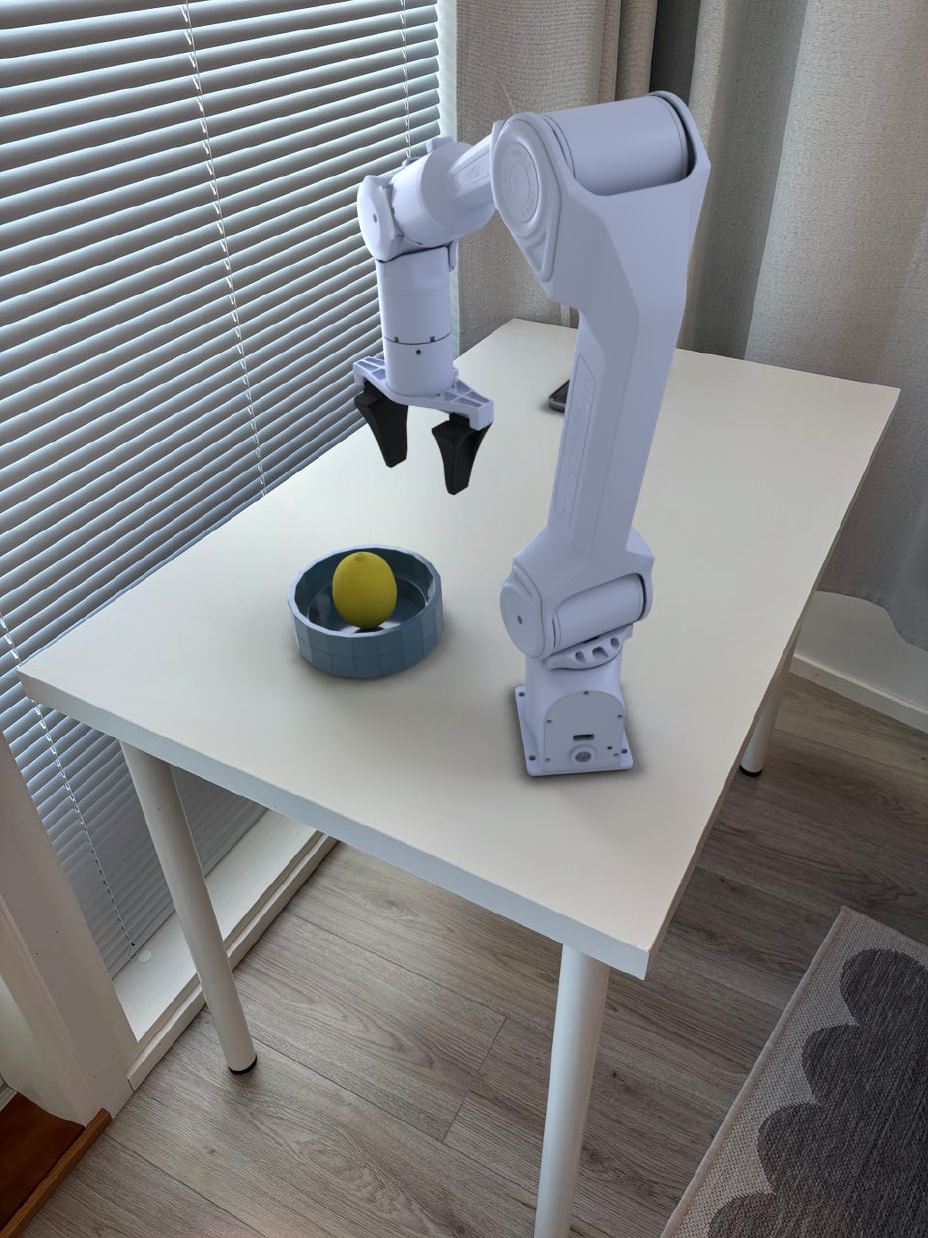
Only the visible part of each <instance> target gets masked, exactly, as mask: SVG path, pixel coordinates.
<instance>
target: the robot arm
mask: <svg viewBox="0 0 928 1238" xmlns="http://www.w3.org/2000/svg"><path fill="white" fill-rule="evenodd" d="M697 127H698V126H697V124H696V122H695V119H694V117H693V115H692V113H691V111H690V109H689V107H688V106H687V105H686V103H685V102H684V101H683V100H682V99H681V98H680V97H679V96H678V95H676V94H675V93H672V92H670V91H665V90H656V91H652V92H648V93H645V94H644V95H643V96H641V97H635V98H628V99H623V100H617V101H616V100H615V101H610V102H603V103H597V104H592V105H585V106H578V107H573V108H566V109H565V108H564V109H559V110H554V111H547V112H540V113H535V112H533V111H526V112H524V111H523V112H518V113H515V114H513V115H511V116H510V117H509V118H506V119H500V120H495V121H494V122H493V125H492V129H491V133H489V134H488V135H487V136H485V137H484V138H483V139H482V140H480V141H479V142H477V143H476V144H475V145H472V144H470V143H466V142H463V141H454V138H453V136H452V135H450V136H449V135H448V136H442V137H435V138H432V139H430V140H429V141H427V142H426V144H425V147H426V152H427V154H425V155H423V156H415V157H409V158H407V159H405V160H404V161H402V163H401V166H402V169H401V170H399V171H397V173H392V174H387V175H381V176H377V175H371V174H370V175H365V177H364V178H363V180H362V182H361V183H360V184H359V187H358V189H357V198H356V210H357V218H358V224H359V227H360V232H361V235H362V238H363V241H364V243H365V246H366V248H367V250H368V251H369V253H370V255H371V256H372V257H373V258H374V261H375V273H376V282H377V283H376V284H377V294H378V305H379V306H378V307H379V317H380V328H381V339H382V348H383V357H384V358H383V359H381V358H377V357H372V356H369V355H368V356H365V357H363V358H361V359H359V360H357V361H355V362H353V363H352V370H353V378H354V383H355V384H356V385H358V386H361V387H364V388H362V392H360V393H357V395H354V397H353V405H354V407H356V409H357V410H358V412H359V413H360V414H361V415H362V417H363V419H364V420H365V421H366V423H367V424H368V426H369V429H370V430H371V432H372V434H373V437H374V438H375V441H376V443H377V445H378V448H379V451H380V453H381V457H382V458H383V459H382V460H383V461H384V464H385V466H386V467H387V468H390V469H393V468H394V467H396V466H398V465H399V464H401V463H403V462H405V461H407V457H408V449H409V447H408V446H409V445H408V414H409V406H410V407H411V406H412V407H418V408H425V409H431V410H436V411H438V412H442V413H444V414H447V415H448V420H447V419H446V420H444V421H442V422H441V423H439V424H437V425H435V426H433V427H432V428H431V429H430V430H431V434H432V436H433V438H434V440H435V442H436V444H437V447H438V450H439V453H440V456H441V460H442V466H443V476H444V485H445V488H446V492H447V494H449V495H452V496H456V495H457V494H459V493H460V492H462V491H464V490H466V489H467V488H469V484H470V479H471V475H472V471H473V467H474V464H475V460H476V458H477V454H478V451H479V449H480V447H481V444H482V442H483V440H484V438H485V437H486V435H487V433H488V431H489V429H490V428H491V427H492V425H493V423H494V422H495V411H494V410H495V407H494V400H493V399H490V398H488V397H486V396H483V395H482V394H480V393H479V392H477V391H476V390H475V389H474V388H472V387H471V386H469V384H467V383H466V382H464V381H463V379H461V378H459V376H460V375H459V368H458V367H457V366H455V365H454V349H453V326H452V323H453V322H452V300H451V280H450V279H451V277H450V276H451V275H450V273H452V272H453V271H455V269H456V268H455V267H456V266H457V246H458V243H459V241H460V238H462V237H465V236H468V235H469V234H472V233H475V232H477V231H479V230H480V229H482V228H484V226H486V225H487V224H488V223H489V221H490V220H491V219H492V217H493V216H494V214H495V211H496V210H497V211H498V212H499V215H500V217H501V220H502V221H503V223H504V224H505V226H506V228H507V229H508V231H509V232H510V234H511V236H512V238H513V239H514V241H515V242H516V244H517V246H518V248H519V249H520V251H521V253H522V254H523V256H524V258H525V260H526V261H527V263H528V265H529V266H530V268H531V270H532V272H533V273H534V275H535V277H536V278H537V280H538V282H539V284H540V285H541V287H542V289H543V290H544V292H545V295H546V296H547V297H548V299H549V300H550V301H553V302H556V303H558V304H560V305H563V306H566V307H568V308H571V309H573V310H576V311H577V313H578V318H579V319H578V326H577V334H576V340H575V346H574V352H573V359H572V365H571V371H570V378H569V379H570V383H569V389H568V396H567V402H566V408H565V412H564V416H563V421H562V427H561V434H560V441H559V447H558V453H557V459H556V465H555V466H556V467H555V473H554V478H553V484H552V491H551V498H550V503H549V511H548V517H547V522H546V525H545V526H544V527H543V528H542V529H541V530H540V531H539V532H538V533H537V534H536V535H535V536H534V537H533V538H531V539H530V540H529V541H528V542H527V543H526V544H525V545H524V546H523V547H522V548H521V549H519V551H517V553H516V554H515V555H514V556H513V558H512V559H513V560H512V566H511V571H510V573H509V575H508V576H507V577H506V578H505V579H504V581H503V583H502V585H501V590H500V593H499V608H500V615H501V618H502V622H503V625H504V627H505V630H506V632H507V634H508V636H509V638H510V640H511V641H512V643H513V644H514V646H515V647H516V648H517V649H518V650H519V651H520V652H521V653H522V654H524V656H525V659H524V667H525V668H524V685H521V686H517V687H515V689H514V696H515V702H516V710H517V714H518V715H517V716H518V722H519V727H520V728H519V729H520V734H521V741H522V746H523V752H524V759H525V765H526V772H527V773H528V775H529V776H531V777H537V776H538V777H539V776H540V777H541V776H551V775H553V776H554V775H565V774H566V775H567V774H579V773H592V772H606V771H618V770H619V771H620V770H629V769H631V768H632V767H633V766H634V759H633V756H632V751H631V749H630V748H631V747H630V744H629V741H628V738H627V737H628V736H627V733H626V730H625V723H626V722H625V721H626V706H625V705H626V704H625V702H624V699H623V695H622V691H621V686H620V682H621V671H622V670H621V669H622V660H623V652H624V651H623V649H624V644H625V642H627V640H629V639H630V638H633V632H634V624H635V623H637V622H641V621H643V620H645V619H646V618H647V617H648V616H649V614H650V613H651V610H652V606H653V601H654V583H653V580H652V574H653V573H652V571H653V567H654V562H655V559H656V558H655V555H654V553H653V552H652V551H653V550H651V548H650V546H649V544H648V542H647V541H646V540H645V538H644V537H643V536H642V535H641V534H640V533H639V532H638V530H637V529H636V528H634V526H632V525H633V522H634V521H633V520H634V517H635V513H636V510H637V509H636V508H637V504H638V501H639V497H640V492H641V488H642V484H643V481H644V477H645V472H646V469H647V464H648V460H649V456H650V452H651V449H652V443H653V441H654V436H655V432H656V429H657V423H658V420H659V416H660V412H661V408H662V403H663V401H664V400H663V399H664V396H665V391H666V388H667V383H668V380H669V376H670V372H671V368H672V363H673V360H674V355H675V351H676V347H677V342H678V340H679V335H680V331H681V327H682V323H683V318H684V314H685V308H686V304H687V303H686V301H687V288H688V287H687V285H688V281H687V280H688V264H689V261H690V257H691V252H692V249H693V245H694V240H695V235H696V231H697V227H698V224H699V220H700V214H701V212H702V211H701V210H702V207H703V202H704V199H705V195H706V191H707V185H708V183H709V177H710V175H711V174H710V173H711V170H712V164H711V161H710V159H709V156H708V154H707V151H706V148H705V146H704V145H705V144H704V143H703V140H702V137H701V135H700V132H699V130H698V128H697Z"/></svg>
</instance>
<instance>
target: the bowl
mask: <svg viewBox="0 0 928 1238" xmlns="http://www.w3.org/2000/svg"><path fill="white" fill-rule="evenodd" d="M357 552H369V553H372V554H375V555H377V556H379V557H380V558H382V559H383V560H384V561H385V562H386V563H387V564H388V566H389V567H390V569H391V571H392V573H393V576H394V579H395V583H396V587H397V598H396V605H395V608H394V610H393V612H392V614H391V616H390V617H389V618H388V619H387V620H386V621H385V622H384V623H382V624H381V625H379V626H377V627H374V628H367V629H363V628H358V627H355V626H352V625H351V624H349V623H347V622H346V621H345V620H344V619H343V618H342V617H341V616H340V614H339V612H338V610H337V608H336V606H335V603H334V599H333V578H334V574H335V571H336V569H337V567H338V565H339V564H340V563H341V562H342V561H343V560H344V559H345V558H346V557H348V556H349V555H351V554H354V553H357ZM442 589H443V588H442V578H441V575H440V573H439V571H438V570H437V568H436V567H435V566H434V564H433V563H432V562H431V561H429V560H428V559H426V557H424V556H423V555H421V554H420V553H417V552H415V551H412V550H410V549H407V548H403V547H400V546H395V545H388V544H387V545H386V544H377V543H376V544H375V543H374V544H360V545H352V546H348V547H344V548H340V549H336V550H333V551H329V552H328V553H325V554H323V555H322V556H320V557H317V558H315V559H314V560H312V561H310V562H309V563H308V564H307V565H305V566H304V567H303V568H301V570H299V571H298V572H297V573H296V574H295V576H294V578H293V580H292V581H291V583H290V585H289V586H288V593H287V606H288V610H289V616H290V621H291V627H292V631H293V637H294V641H295V644H296V647H297V649H298V651H299V653H300V655H301V656H303V657H304V658H305V659H306V660H307V661H308V662H309V663H310V664H311V665H312V666H314V667H316V668H318V669H320V670H322V671H324V672H327V673H329V674H332V675H335V676H336V675H337V676H343V677H351V678H368V677H381V676H385V675H389V674H392V673H396V672H399V671H403V670H405V669H407V668H410V667H411V666H413V665H414V664H417V663H418V662H420V661H422V660H424V659H425V658H426V657H427V656H428V655H429V654H430V653H431V652H432V651H433V650H434V649H435V648H436V647H437V646H438V644H439V643H440V639H441V637H442V634H443V632H444V630H445V625H444V607H443V590H442Z"/></svg>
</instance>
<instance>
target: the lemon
mask: <svg viewBox="0 0 928 1238" xmlns="http://www.w3.org/2000/svg"><path fill="white" fill-rule="evenodd" d="M396 598H397V587H396V583H395V579H394V576H393V573H392V571H391V569H390V567H389V566H388V564H387V563H386V562H385V561H384V560H383V559H382V558H380V557H379V556H377V555H375V554H372V553H369V552H357V553H354V554H351V555H349V556H348V557H346V558H345V559H344V560H343V561H342V562H341V563H340V564H339V565H338V567H337V569H336V571H335V574H334V578H333V599H334V603H335V606H336V608H337V610H338V612H339V614H340V616H341V617H342V618H343V619H344V620H345V621H346V622H347V623H349V624H351V625H352V626H355V627H358V628H363V629H367V628H374V627H377V626H379V625H381V624H382V623H384V622H385V621H386V620H387V619H388V618H389V617H390V616H391V614H392V612H393V610H394V608H395V605H396Z"/></svg>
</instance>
